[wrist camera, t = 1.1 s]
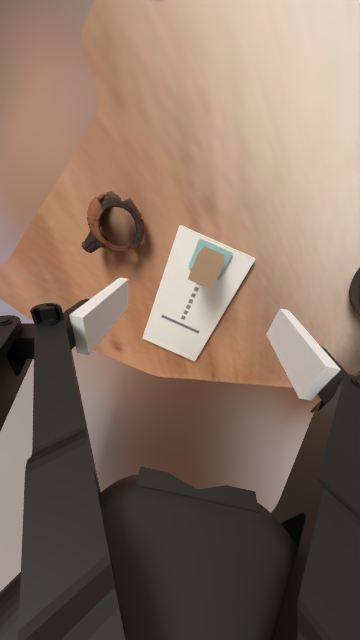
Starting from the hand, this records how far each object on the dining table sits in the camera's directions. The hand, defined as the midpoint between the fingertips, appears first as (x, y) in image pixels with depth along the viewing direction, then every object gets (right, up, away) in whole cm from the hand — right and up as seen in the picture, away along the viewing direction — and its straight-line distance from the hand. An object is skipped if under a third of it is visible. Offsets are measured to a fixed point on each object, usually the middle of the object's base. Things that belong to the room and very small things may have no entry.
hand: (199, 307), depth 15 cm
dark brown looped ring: (-13, +17, +18) cm, 28 cm away
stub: (+3, +9, +15) cm, 18 cm away
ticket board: (0, +3, +22) cm, 22 cm away
